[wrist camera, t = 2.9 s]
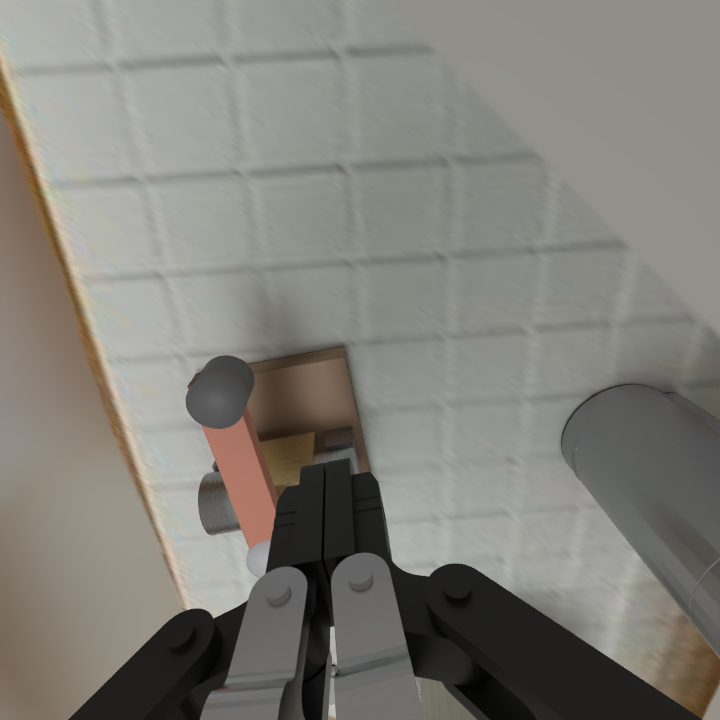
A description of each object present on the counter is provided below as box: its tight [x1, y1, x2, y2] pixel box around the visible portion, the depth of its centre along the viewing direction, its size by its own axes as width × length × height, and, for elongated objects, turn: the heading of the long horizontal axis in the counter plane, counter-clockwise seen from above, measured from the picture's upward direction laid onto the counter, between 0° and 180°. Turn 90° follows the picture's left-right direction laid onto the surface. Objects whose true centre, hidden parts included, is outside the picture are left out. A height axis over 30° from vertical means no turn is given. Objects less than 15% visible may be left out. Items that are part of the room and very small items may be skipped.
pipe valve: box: [198, 426, 360, 547], centre depth 29 cm, size 10×5×8 cm, turn 100°
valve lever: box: [186, 356, 278, 578], centre depth 23 cm, size 3×13×3 cm, turn 10°
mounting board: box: [188, 346, 371, 473], centre depth 33 cm, size 11×14×2 cm
